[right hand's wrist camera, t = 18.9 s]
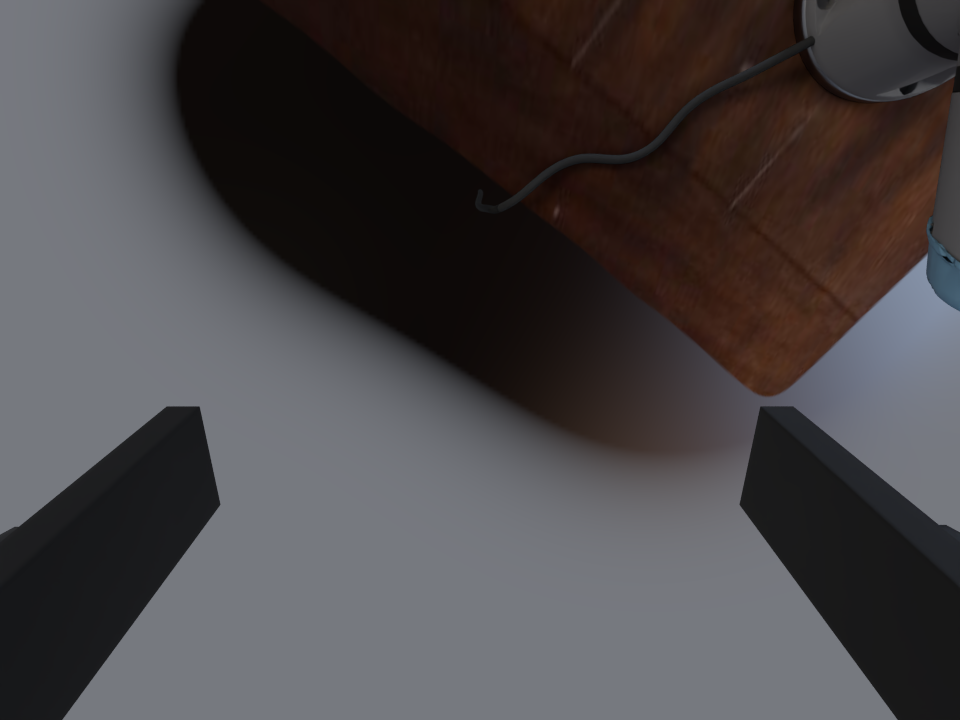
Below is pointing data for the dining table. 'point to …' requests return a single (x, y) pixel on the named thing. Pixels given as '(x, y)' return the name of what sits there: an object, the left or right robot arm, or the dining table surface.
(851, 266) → the dining table surface
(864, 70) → the right robot arm
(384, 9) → the dining table surface
